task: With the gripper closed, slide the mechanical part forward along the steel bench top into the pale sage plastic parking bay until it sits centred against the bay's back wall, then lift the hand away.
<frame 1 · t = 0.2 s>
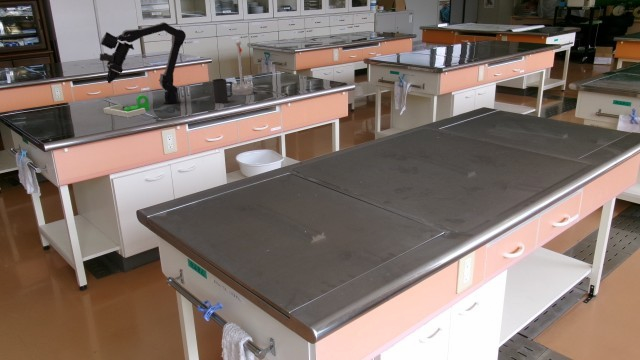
hand: (108, 81, 266), 15 cm above the table, tool tilted 30°, fingers open, 9 cm apart
mug: (224, 102, 282), on the table
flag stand: (242, 93, 303), on the table
mechanical part: (136, 111, 269), on the table
parking bay: (125, 113, 264), on the table
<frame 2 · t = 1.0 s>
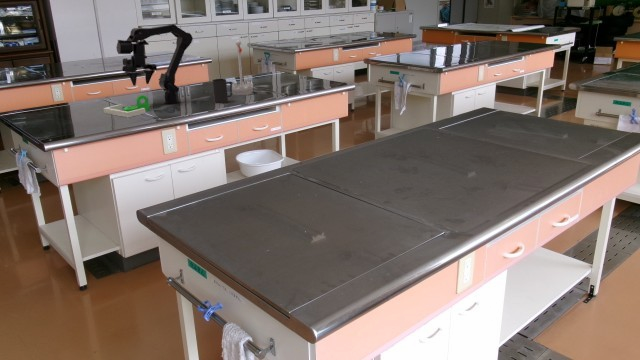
hand: (140, 84, 270), 12 cm above the table, tool pointing down, fingers open, 9 cm apart
nothing on the table moved.
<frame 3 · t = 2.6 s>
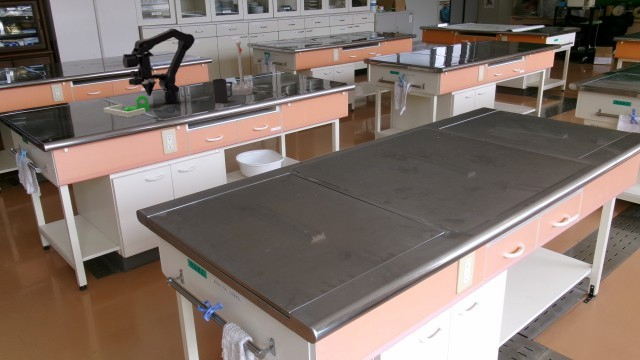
hand: (149, 95, 274), 6 cm above the table, tool pointing down, fingers closed
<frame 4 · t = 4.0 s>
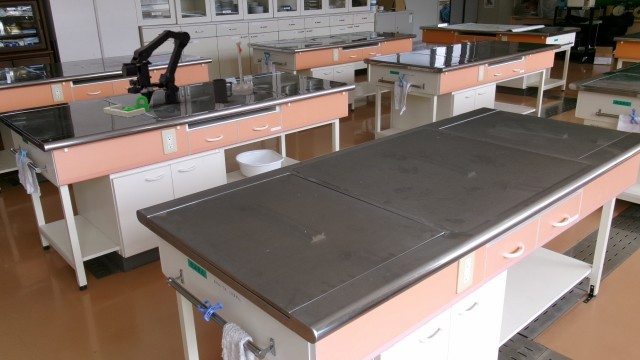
hand: (148, 104, 274), 2 cm above the table, tool pointing down, fingers closed
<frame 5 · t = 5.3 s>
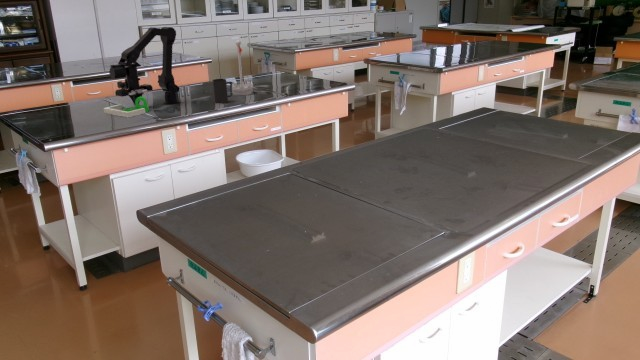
hand: (136, 106, 269), 2 cm above the table, tool pointing down, fingers closed
mechanical part: (136, 112, 266), on the table, touching gripper
everything else where it was.
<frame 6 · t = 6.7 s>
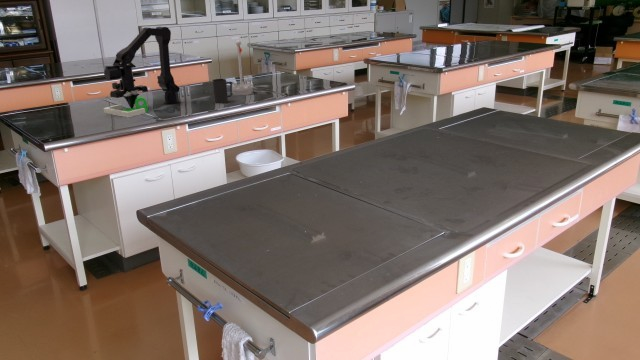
hand: (131, 108, 267), 2 cm above the table, tool pointing down, fingers closed
mechanical part: (135, 113, 265), on the table, touching parking bay
everything else where it was.
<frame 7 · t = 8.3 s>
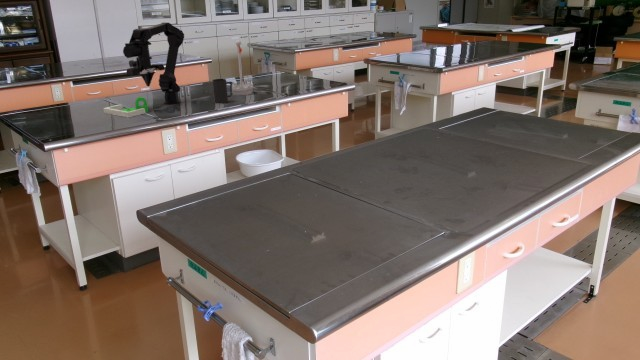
hand: (148, 86, 266), 12 cm above the table, tool pointing down, fingers closed
mechanical part: (135, 113, 265), on the table
everything else where it was.
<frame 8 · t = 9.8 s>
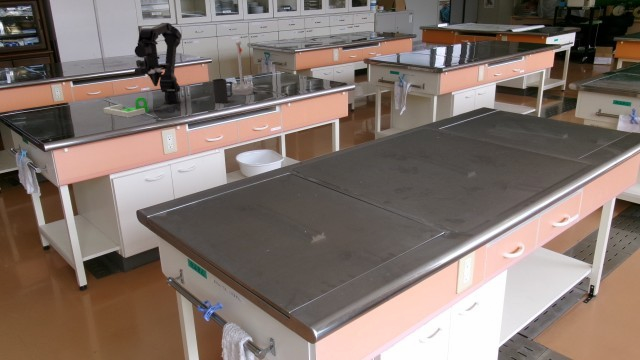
hand: (155, 86, 265), 12 cm above the table, tool pointing down, fingers closed
nothing on the table moved.
at the end: mechanical part inside the target area on the parking bay (5.4 cm from its centre), point 0.0 cm above the parking bay's base; mechanical part tilted 0°; mechanical part moved 4.8 cm from its start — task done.
